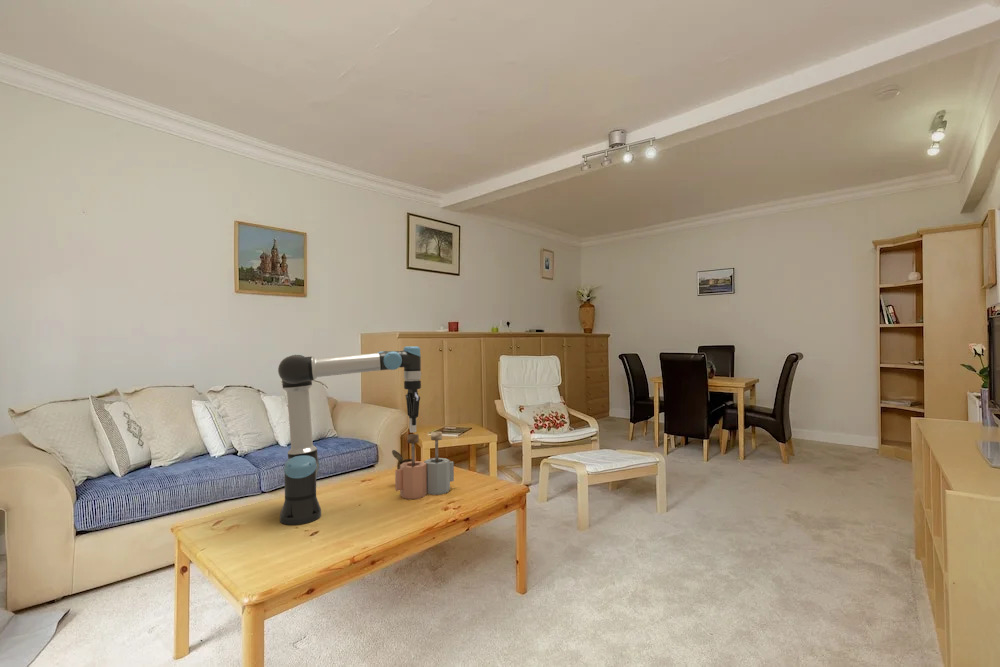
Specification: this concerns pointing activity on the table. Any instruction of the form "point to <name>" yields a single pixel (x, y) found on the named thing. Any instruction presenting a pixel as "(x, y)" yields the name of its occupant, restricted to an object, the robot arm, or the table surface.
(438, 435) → the grey plunger
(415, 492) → the pink octagonal mug
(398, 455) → the wooden mug
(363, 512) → the table surface
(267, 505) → the table surface
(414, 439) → the taupe plunger
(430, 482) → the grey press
